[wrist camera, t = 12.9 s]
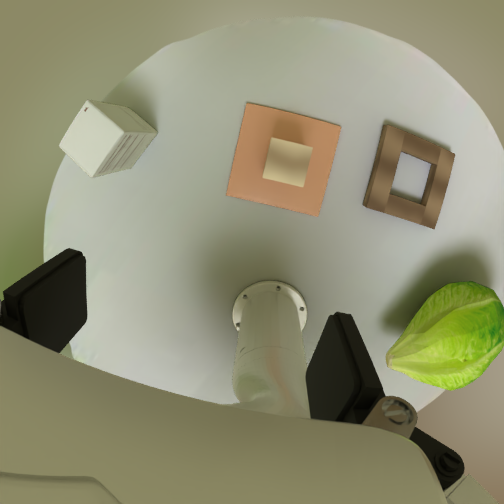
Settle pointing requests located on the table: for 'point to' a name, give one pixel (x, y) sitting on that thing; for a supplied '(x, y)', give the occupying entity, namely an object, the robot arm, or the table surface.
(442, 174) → the pocket block
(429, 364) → the lettuce
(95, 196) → the table surface
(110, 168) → the supplement box
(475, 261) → the table surface
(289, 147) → the maple block
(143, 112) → the table surface
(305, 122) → the pad
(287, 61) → the table surface
